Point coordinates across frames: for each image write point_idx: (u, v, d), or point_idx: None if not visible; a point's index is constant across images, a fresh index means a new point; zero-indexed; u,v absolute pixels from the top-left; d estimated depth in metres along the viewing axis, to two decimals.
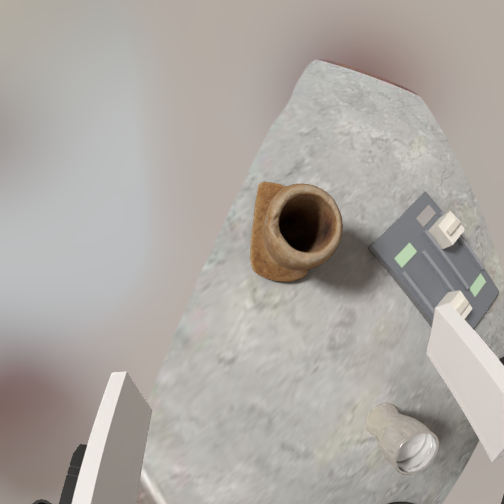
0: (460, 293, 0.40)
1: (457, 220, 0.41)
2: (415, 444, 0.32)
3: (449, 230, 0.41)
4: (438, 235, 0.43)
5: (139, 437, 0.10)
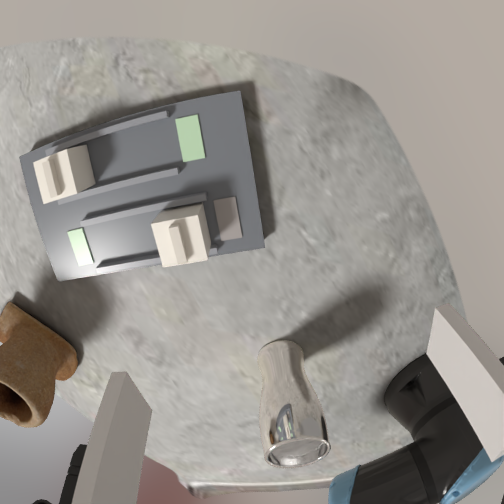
0: (156, 226, 0.25)
1: (44, 165, 0.21)
2: None
3: (51, 194, 0.22)
4: None
5: (139, 437, 0.10)
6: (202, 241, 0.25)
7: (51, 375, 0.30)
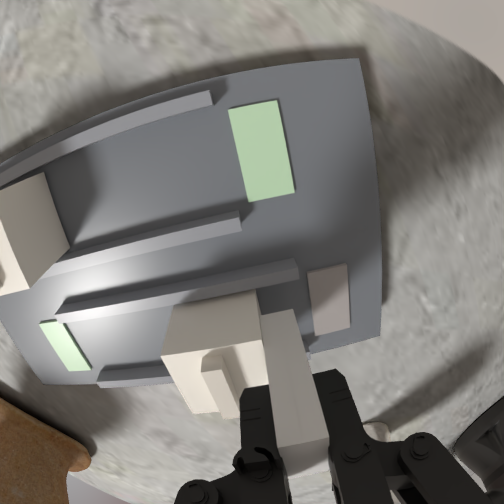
0: (172, 360, 0.11)
1: None
2: None
3: None
4: None
5: None
6: None
7: (61, 490, 0.17)
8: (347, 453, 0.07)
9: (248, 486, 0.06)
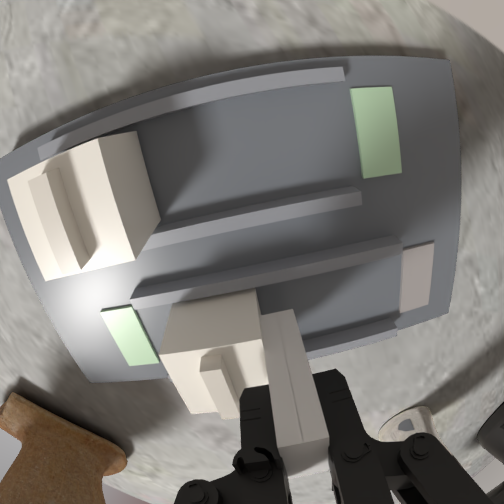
0: (170, 359, 0.11)
1: (34, 188, 0.07)
2: None
3: (63, 265, 0.08)
4: None
5: None
6: None
7: (100, 498, 0.17)
8: (347, 453, 0.07)
9: (248, 486, 0.06)
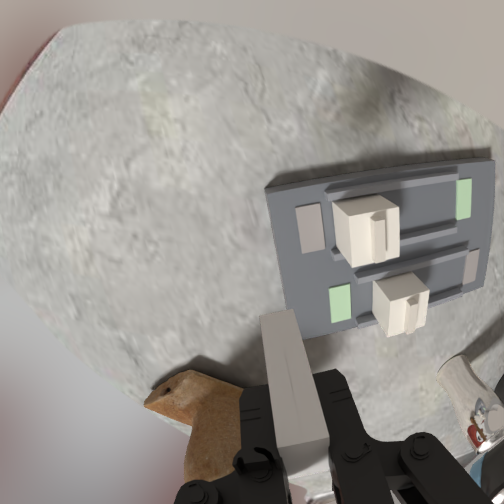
0: (394, 303, 0.24)
1: (377, 225, 0.20)
2: None
3: (378, 259, 0.21)
4: None
5: None
6: (426, 311, 0.24)
7: None
8: (347, 453, 0.07)
9: (248, 486, 0.06)
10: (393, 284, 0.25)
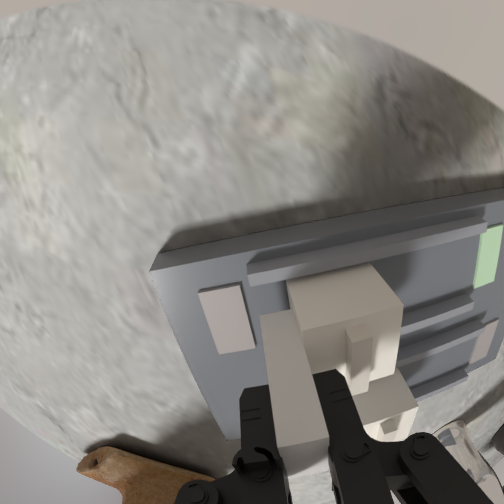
0: None
1: (356, 347, 0.10)
2: None
3: (355, 390, 0.11)
4: None
5: None
6: (410, 426, 0.15)
7: None
8: (347, 453, 0.07)
9: (248, 486, 0.06)
10: (365, 393, 0.16)
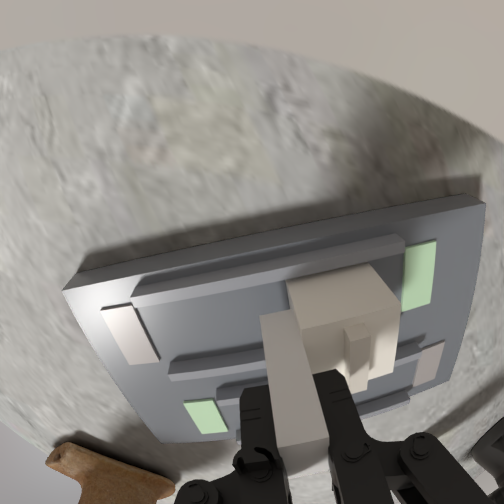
0: None
1: (355, 346, 0.10)
2: None
3: (354, 389, 0.11)
4: None
5: None
6: None
7: None
8: (347, 453, 0.07)
9: (248, 486, 0.06)
10: None
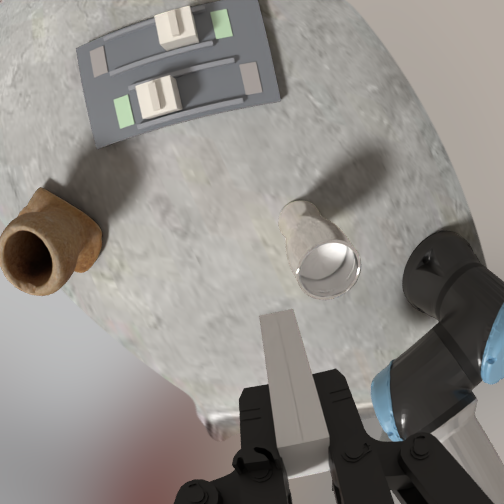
0: (139, 87, 0.29)
1: (169, 13, 0.25)
2: (332, 244, 0.32)
3: (173, 32, 0.26)
4: (175, 44, 0.28)
5: None
6: (172, 94, 0.29)
7: (76, 241, 0.34)
8: (347, 453, 0.07)
9: (248, 486, 0.06)
10: None
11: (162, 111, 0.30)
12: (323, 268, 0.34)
